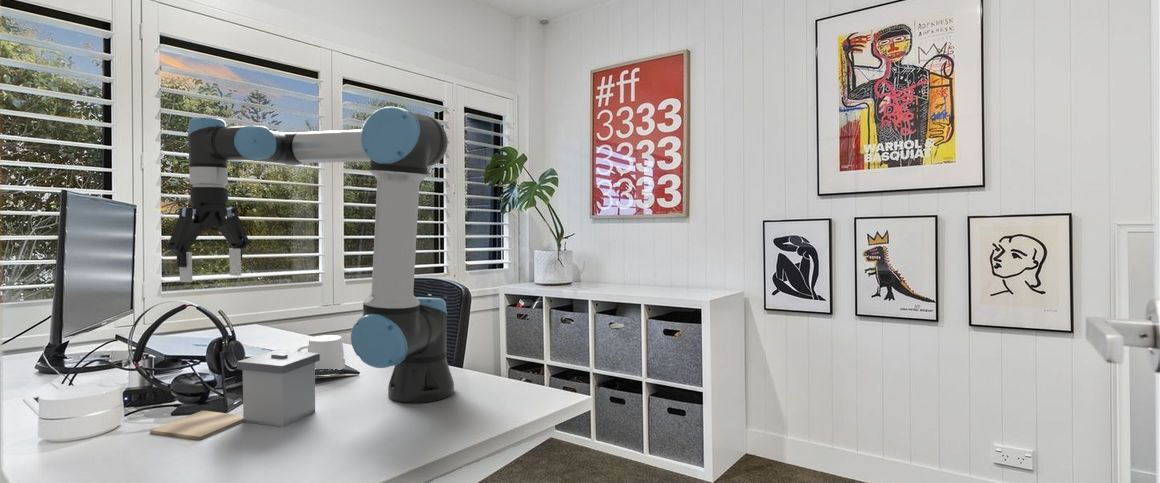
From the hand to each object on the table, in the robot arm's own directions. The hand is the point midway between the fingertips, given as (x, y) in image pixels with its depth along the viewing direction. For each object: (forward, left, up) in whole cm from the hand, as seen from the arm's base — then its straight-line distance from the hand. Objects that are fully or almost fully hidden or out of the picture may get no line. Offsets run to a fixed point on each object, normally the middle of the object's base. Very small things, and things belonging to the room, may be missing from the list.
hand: (212, 278), depth 143 cm
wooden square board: (-15, +18, -27) cm, 36 cm away
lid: (-26, +9, -17) cm, 32 cm away
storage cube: (-26, +9, -27) cm, 38 cm away
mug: (-12, -22, -27) cm, 37 cm away
